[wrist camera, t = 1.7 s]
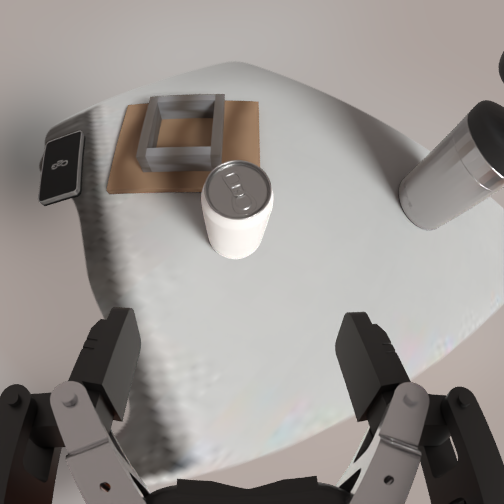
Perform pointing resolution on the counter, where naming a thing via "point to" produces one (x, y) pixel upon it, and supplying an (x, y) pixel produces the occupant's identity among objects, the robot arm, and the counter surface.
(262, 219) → the can
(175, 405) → the counter surface
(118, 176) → the socket board
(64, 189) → the external hard drive
